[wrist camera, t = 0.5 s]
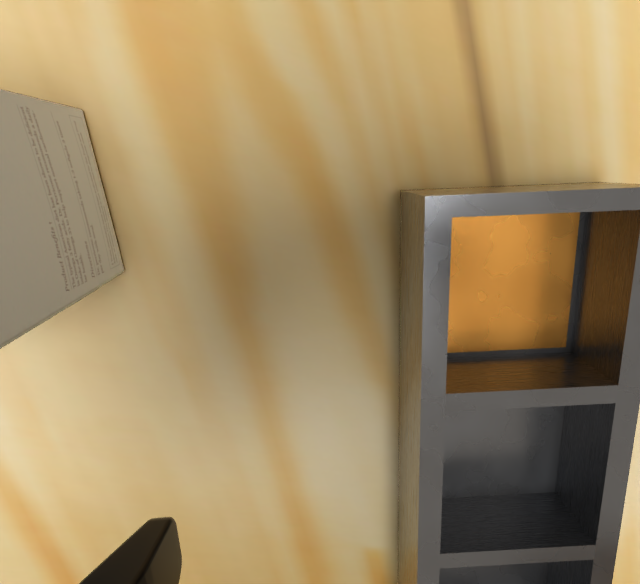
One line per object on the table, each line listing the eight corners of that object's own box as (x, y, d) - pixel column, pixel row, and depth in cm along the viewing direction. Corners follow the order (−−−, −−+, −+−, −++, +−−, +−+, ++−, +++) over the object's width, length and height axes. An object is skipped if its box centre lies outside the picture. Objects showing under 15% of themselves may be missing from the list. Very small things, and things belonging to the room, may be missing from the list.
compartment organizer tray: (556, 607, 27) (601, 686, 23) (397, 617, 27) (414, 698, 23) (606, 182, 21) (681, 185, 17) (400, 190, 21) (425, 196, 17)
